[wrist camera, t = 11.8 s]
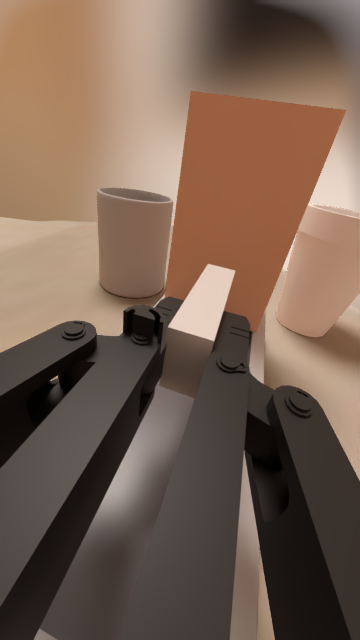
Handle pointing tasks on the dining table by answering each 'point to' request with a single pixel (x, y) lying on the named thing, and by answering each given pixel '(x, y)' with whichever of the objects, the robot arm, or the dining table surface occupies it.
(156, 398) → the shallow rimmed tray
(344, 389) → the dining table surface
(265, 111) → the large orange block
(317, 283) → the foam cup
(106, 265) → the mug
